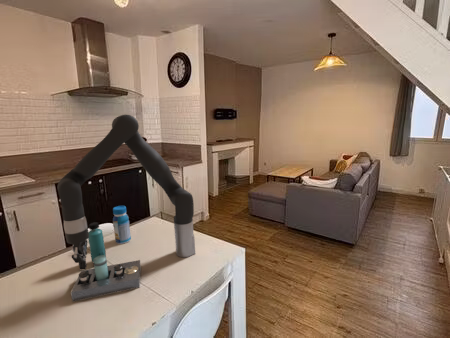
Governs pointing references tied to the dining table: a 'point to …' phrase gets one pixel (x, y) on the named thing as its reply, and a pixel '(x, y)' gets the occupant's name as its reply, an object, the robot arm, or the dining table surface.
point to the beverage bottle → (96, 241)
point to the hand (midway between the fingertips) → (83, 268)
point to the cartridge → (101, 268)
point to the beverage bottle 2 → (121, 225)
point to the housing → (108, 282)
